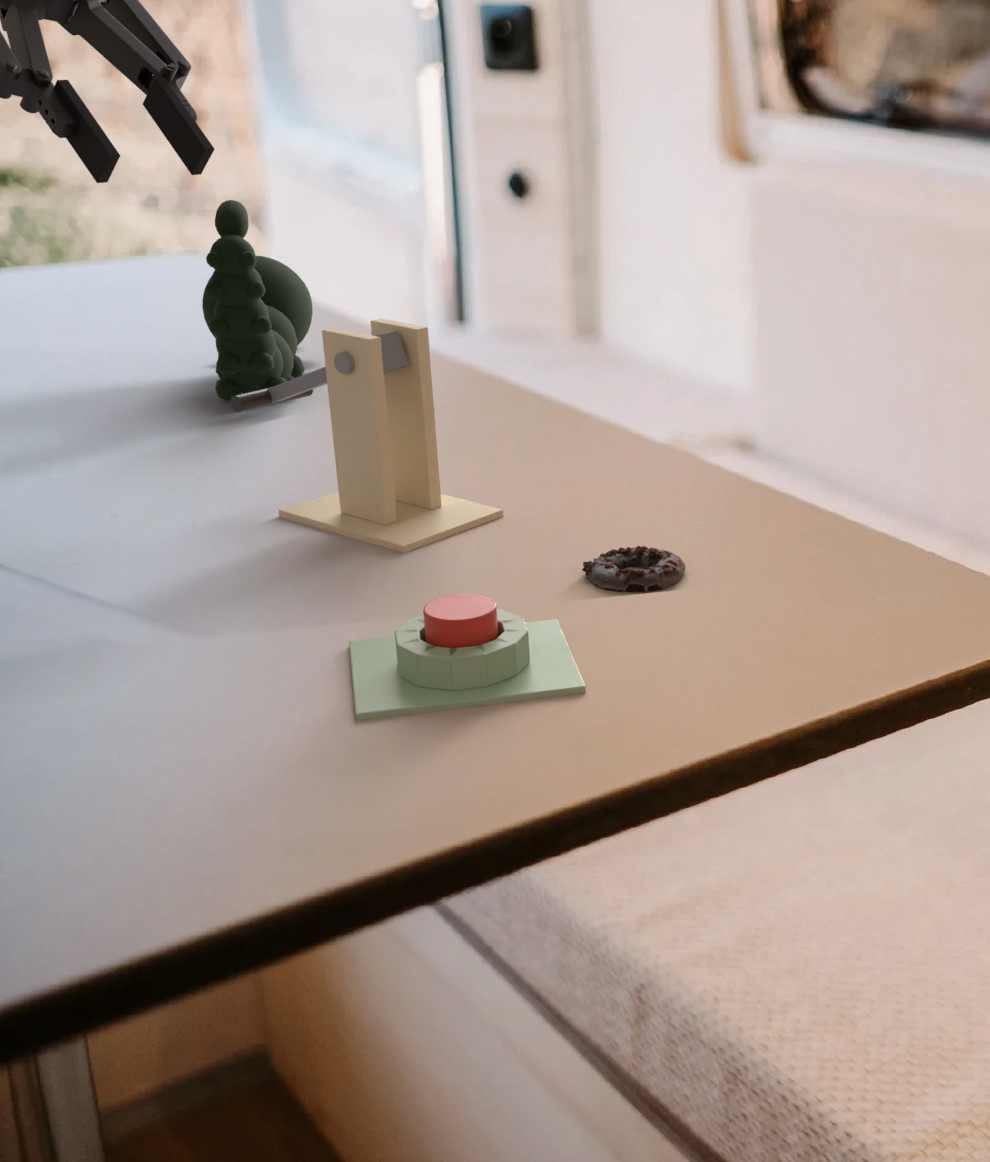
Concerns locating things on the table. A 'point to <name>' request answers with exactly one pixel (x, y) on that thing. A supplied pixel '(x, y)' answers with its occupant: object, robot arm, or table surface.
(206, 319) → the toy figurine
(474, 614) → the button
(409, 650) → the button block
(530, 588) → the table surface
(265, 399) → the lever
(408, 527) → the bracket
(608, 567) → the donut
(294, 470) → the table surface
